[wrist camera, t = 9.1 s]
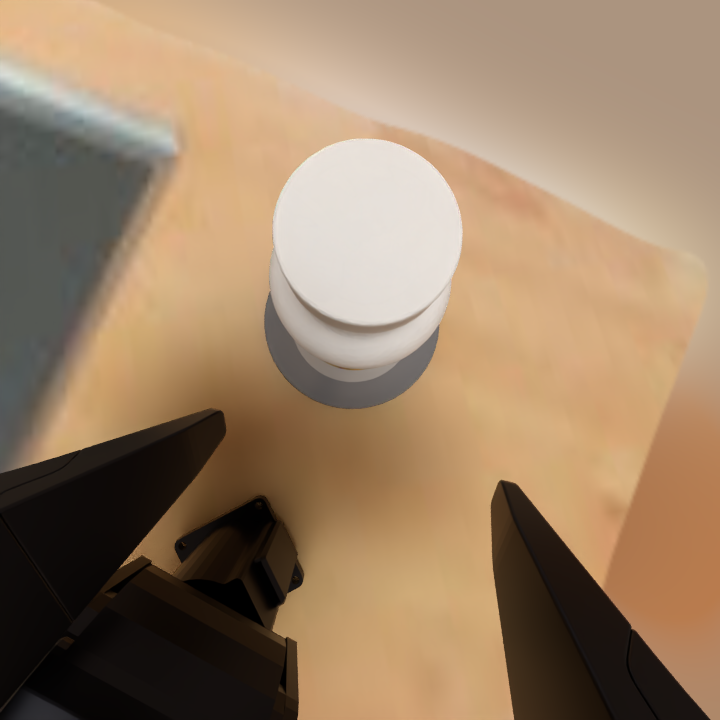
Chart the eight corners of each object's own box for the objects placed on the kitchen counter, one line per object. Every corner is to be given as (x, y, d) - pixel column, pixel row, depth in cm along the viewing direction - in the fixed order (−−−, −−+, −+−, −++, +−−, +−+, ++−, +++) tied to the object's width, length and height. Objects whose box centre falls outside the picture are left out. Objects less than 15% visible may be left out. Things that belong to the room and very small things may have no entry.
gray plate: (315, 436, 20) (313, 440, 19) (239, 285, 21) (233, 280, 19) (463, 360, 21) (469, 359, 20) (388, 215, 21) (390, 206, 20)
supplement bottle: (284, 316, 20) (166, 205, 7) (358, 255, 20) (381, 42, 7) (348, 391, 19) (353, 425, 7) (421, 328, 20) (558, 246, 7)
